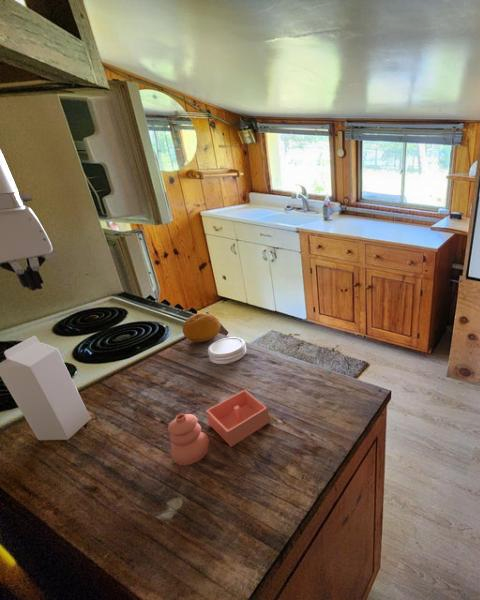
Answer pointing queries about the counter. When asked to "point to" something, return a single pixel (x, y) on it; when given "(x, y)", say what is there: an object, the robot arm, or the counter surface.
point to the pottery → (216, 426)
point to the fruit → (201, 327)
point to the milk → (43, 390)
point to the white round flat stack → (227, 350)
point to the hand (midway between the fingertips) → (34, 288)
